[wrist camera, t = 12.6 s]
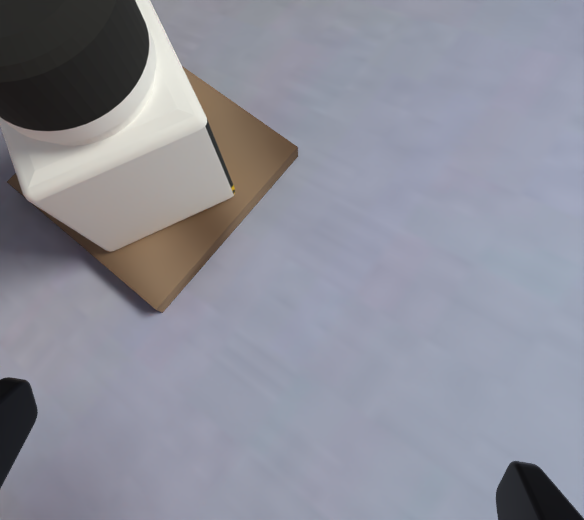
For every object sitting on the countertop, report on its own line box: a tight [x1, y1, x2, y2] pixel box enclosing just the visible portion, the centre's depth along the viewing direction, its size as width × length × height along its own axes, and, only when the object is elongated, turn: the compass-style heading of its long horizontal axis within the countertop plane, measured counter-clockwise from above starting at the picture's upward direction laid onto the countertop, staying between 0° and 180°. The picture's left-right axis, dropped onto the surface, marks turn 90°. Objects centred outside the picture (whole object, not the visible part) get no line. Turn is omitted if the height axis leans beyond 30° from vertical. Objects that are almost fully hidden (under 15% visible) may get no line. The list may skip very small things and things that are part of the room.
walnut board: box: [7, 66, 298, 313], centre depth 24 cm, size 11×11×1 cm
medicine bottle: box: [0, 0, 235, 252], centre depth 18 cm, size 7×7×12 cm
